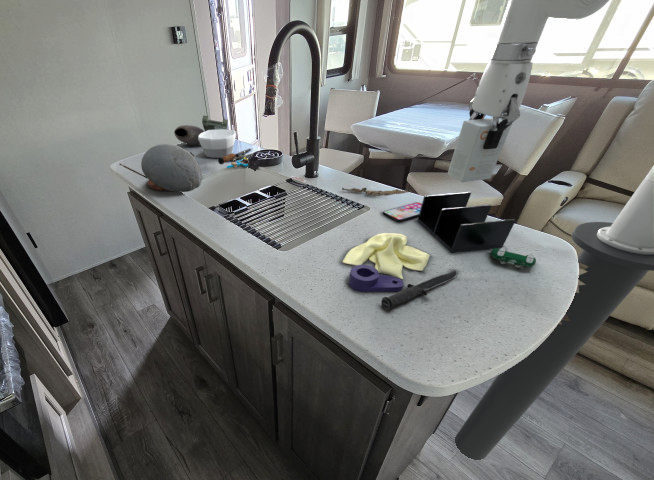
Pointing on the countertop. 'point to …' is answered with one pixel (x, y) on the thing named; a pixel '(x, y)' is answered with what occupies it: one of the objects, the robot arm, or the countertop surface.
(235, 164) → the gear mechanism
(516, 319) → the countertop surface
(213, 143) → the bowl
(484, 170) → the small box
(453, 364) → the countertop surface
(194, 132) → the planter
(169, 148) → the gray stone
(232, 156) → the knife
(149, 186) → the incense holder
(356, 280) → the lever
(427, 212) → the rack
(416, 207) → the smartphone
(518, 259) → the gaming controller
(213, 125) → the toy tank
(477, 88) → the robot arm
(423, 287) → the knife
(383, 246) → the cloth
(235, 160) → the dinosaur
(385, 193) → the wooden twig
